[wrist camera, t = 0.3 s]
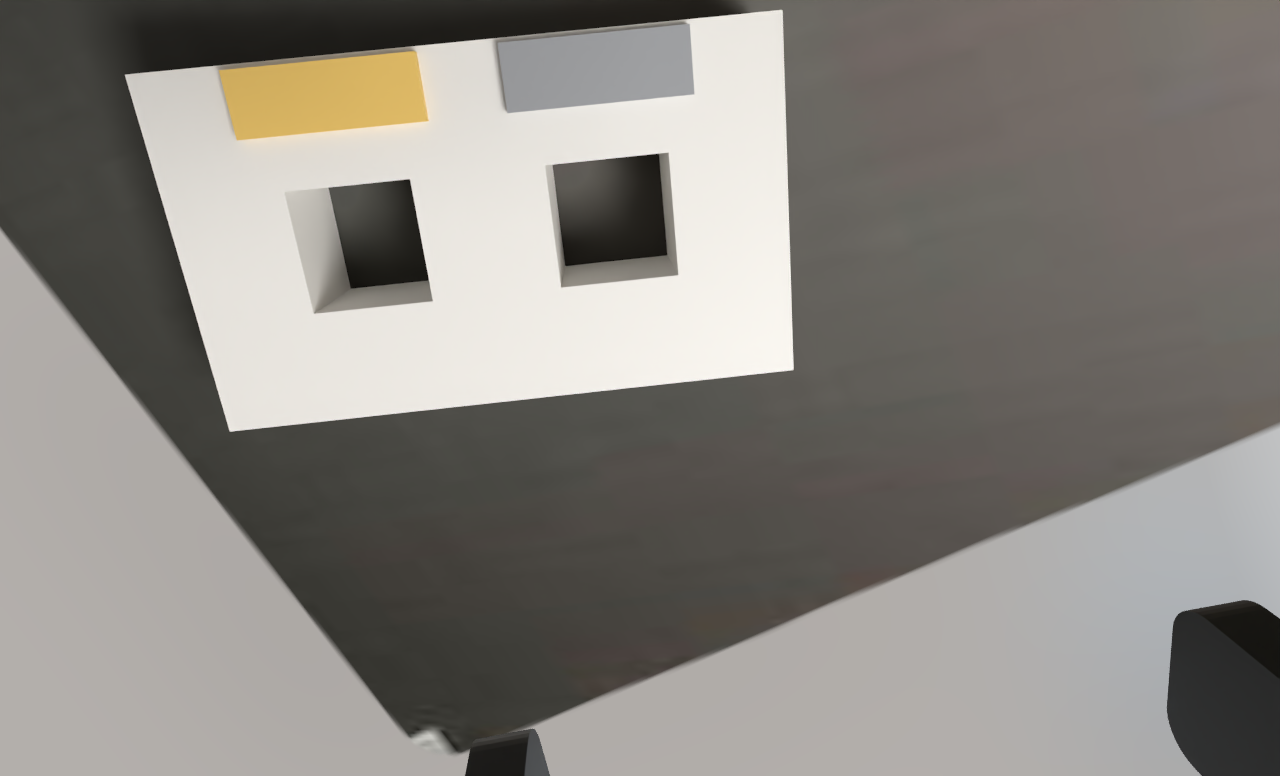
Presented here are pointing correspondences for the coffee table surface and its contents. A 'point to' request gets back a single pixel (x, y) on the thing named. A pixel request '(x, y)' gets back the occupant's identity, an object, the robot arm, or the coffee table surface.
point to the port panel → (478, 216)
